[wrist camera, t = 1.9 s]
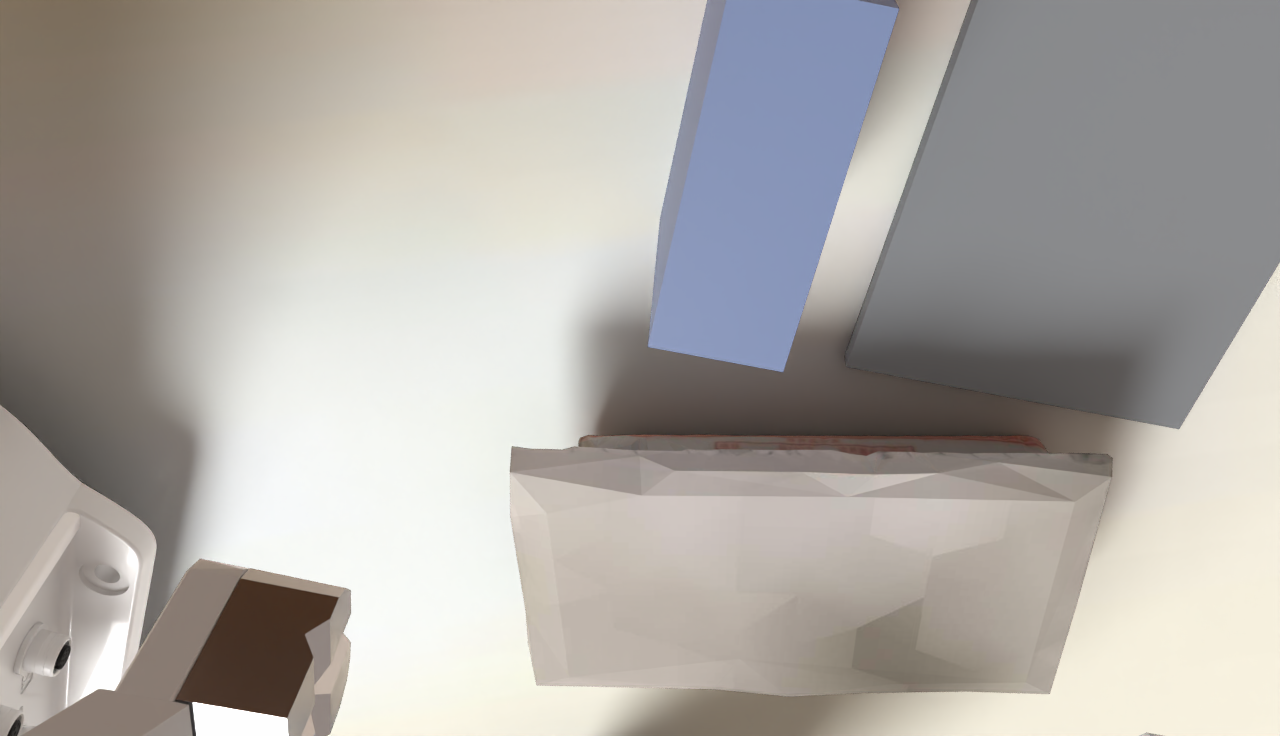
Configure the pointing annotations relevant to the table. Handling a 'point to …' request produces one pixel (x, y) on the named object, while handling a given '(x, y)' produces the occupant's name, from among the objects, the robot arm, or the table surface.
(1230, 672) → the table surface
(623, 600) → the packaged product
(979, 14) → the mat
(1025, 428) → the table surface
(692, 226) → the blue rectangular block
